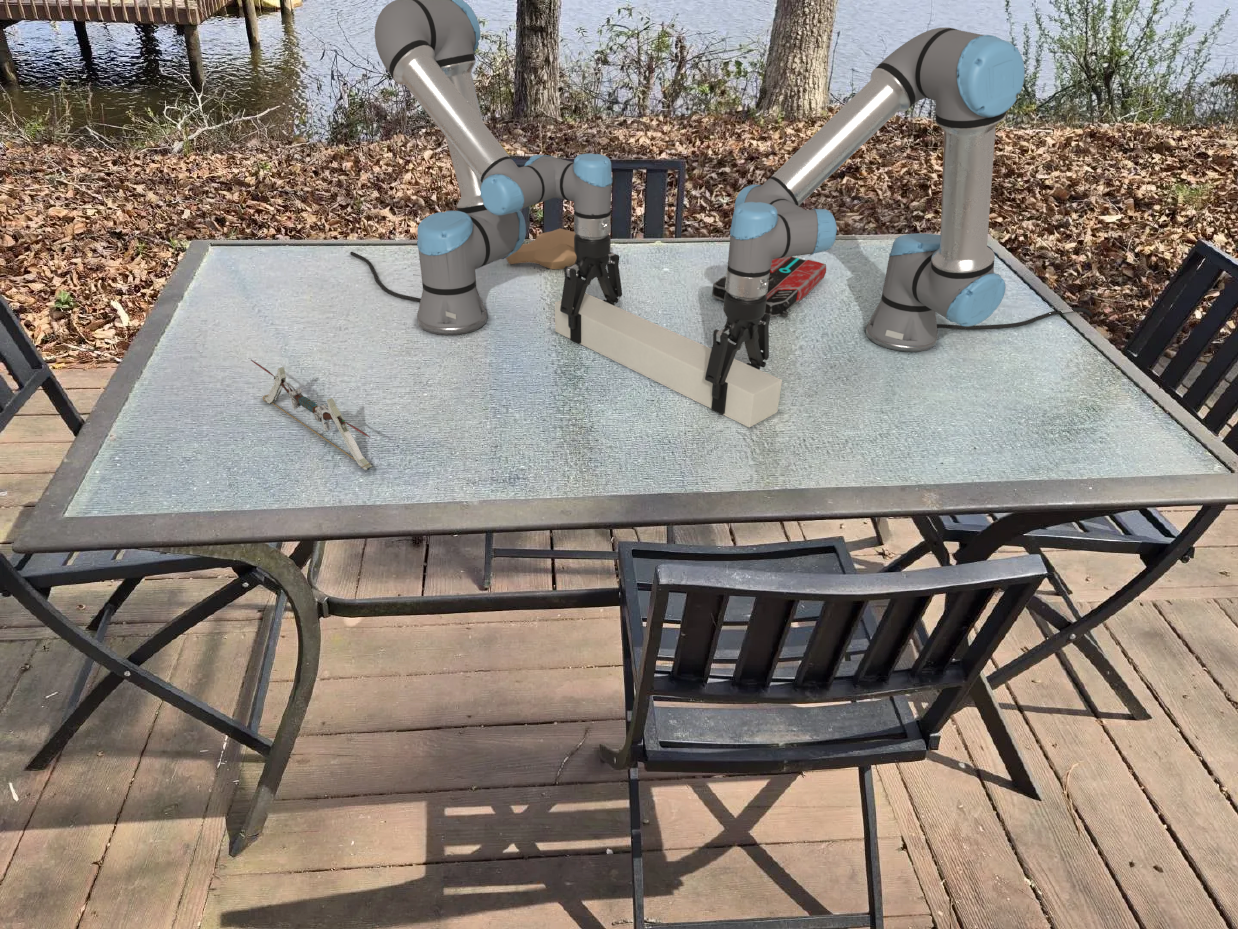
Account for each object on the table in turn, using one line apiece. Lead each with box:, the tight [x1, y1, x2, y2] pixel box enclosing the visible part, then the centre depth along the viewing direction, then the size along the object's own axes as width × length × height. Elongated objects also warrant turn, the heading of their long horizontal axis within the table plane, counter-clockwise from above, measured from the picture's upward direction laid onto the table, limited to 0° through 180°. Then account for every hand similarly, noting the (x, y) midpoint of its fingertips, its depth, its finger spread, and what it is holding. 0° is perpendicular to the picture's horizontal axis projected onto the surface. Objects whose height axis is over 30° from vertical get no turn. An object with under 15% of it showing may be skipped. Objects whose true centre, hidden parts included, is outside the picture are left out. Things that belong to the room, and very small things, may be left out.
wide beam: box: [554, 292, 783, 428], centre depth 179 cm, size 55×9×7 cm, turn 44°
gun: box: [711, 256, 827, 318], centre depth 215 cm, size 4×31×19 cm
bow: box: [250, 359, 373, 471], centre depth 154 cm, size 39×2×10 cm, turn 47°
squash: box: [505, 227, 577, 270], centre depth 225 cm, size 11×20×9 cm, turn 90°
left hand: (591, 334), depth 192 cm, fingers closed on wide beam, 9 cm apart
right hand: (733, 403), depth 168 cm, fingers closed on wide beam, 9 cm apart
